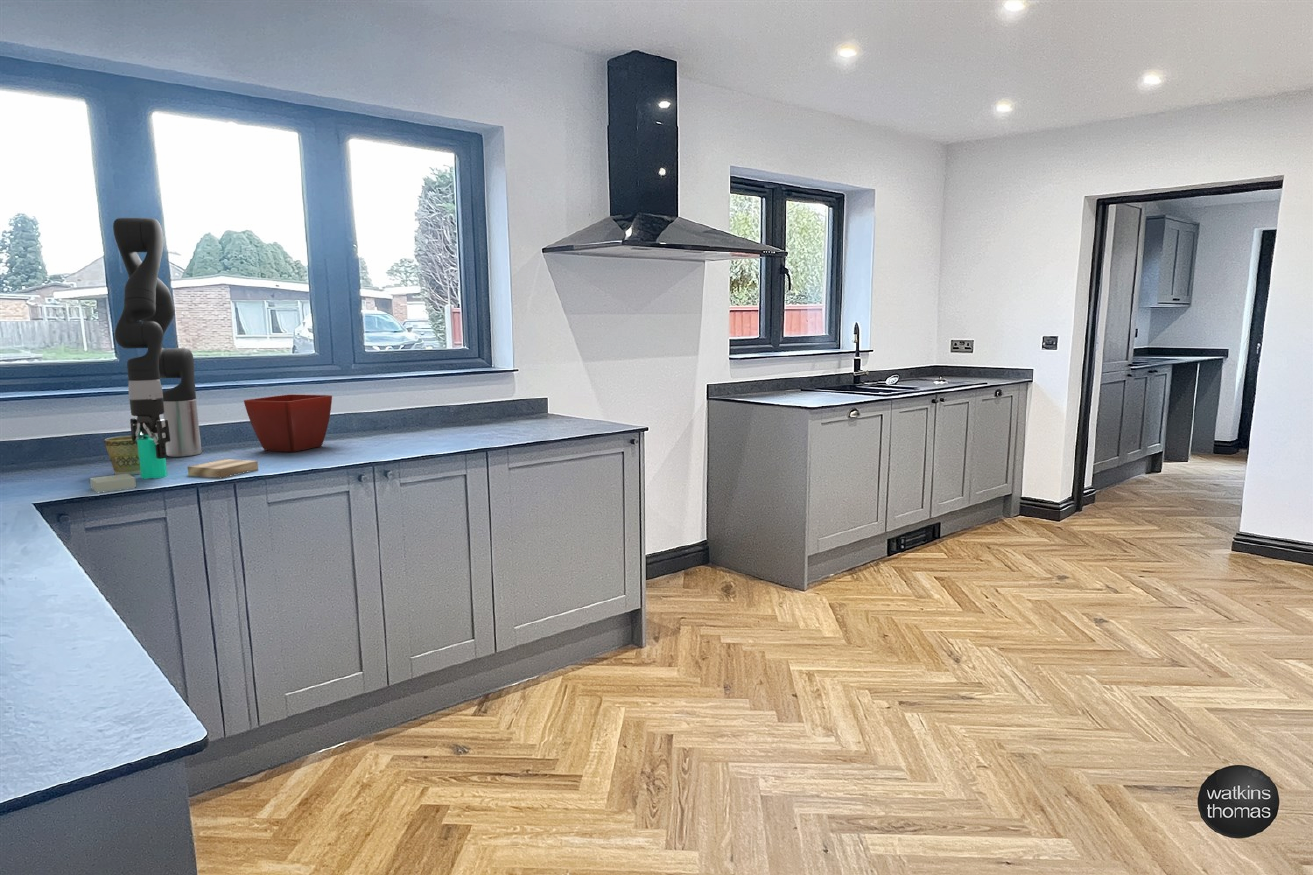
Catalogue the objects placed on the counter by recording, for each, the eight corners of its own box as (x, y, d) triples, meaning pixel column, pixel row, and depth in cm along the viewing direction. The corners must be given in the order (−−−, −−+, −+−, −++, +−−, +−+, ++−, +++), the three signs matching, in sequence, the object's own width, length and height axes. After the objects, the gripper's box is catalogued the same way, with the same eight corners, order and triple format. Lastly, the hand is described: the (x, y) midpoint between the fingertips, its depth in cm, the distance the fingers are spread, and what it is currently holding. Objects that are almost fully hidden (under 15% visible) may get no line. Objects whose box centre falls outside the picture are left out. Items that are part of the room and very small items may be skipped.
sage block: (91, 489, 197) (90, 478, 196) (128, 484, 202) (127, 473, 202) (98, 494, 191) (96, 482, 191) (136, 489, 197) (135, 477, 196)
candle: (139, 479, 207) (134, 435, 205) (142, 475, 212) (137, 432, 210) (166, 477, 210) (161, 433, 208) (168, 473, 215) (163, 430, 213)
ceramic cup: (119, 478, 209) (114, 441, 208) (101, 474, 214) (97, 438, 213) (170, 470, 220) (166, 435, 218) (152, 466, 225) (148, 432, 224)
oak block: (188, 477, 212) (187, 466, 211) (226, 469, 223) (225, 458, 223) (221, 480, 208) (220, 469, 207) (258, 471, 219) (257, 461, 219)
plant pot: (246, 451, 250) (241, 399, 247) (294, 442, 267) (290, 393, 264) (291, 455, 242) (286, 401, 240) (337, 445, 260) (333, 395, 257)
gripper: (116, 397, 207) (123, 458, 210) (146, 398, 200) (152, 461, 203) (146, 395, 214) (152, 454, 216) (175, 396, 207) (182, 456, 209)
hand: (152, 457), depth 209 cm, fingers open, 8 cm apart
